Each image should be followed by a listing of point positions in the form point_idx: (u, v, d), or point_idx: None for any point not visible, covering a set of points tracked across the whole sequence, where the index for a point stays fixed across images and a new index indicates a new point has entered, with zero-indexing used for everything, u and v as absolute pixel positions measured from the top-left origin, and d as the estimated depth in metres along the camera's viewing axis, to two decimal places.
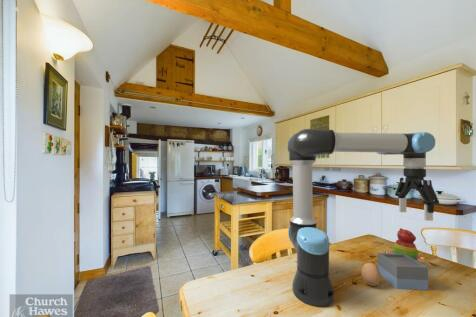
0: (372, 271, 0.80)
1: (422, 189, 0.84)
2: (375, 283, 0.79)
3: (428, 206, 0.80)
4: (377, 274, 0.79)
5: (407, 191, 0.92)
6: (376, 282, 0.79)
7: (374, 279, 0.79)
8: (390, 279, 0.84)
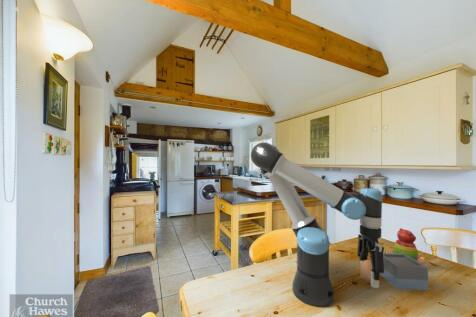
0: (371, 268, 0.80)
1: (374, 253, 0.80)
2: None
3: (374, 273, 0.78)
4: None
5: (366, 251, 0.85)
6: None
7: None
8: (390, 279, 0.84)
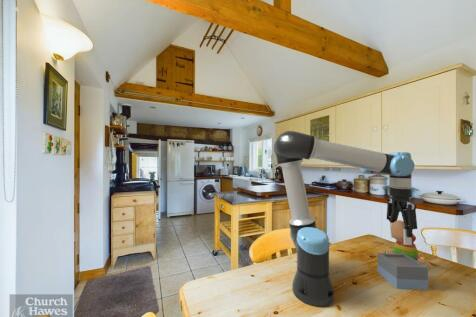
0: (403, 226, 0.83)
1: (405, 212, 0.83)
2: None
3: (407, 231, 0.81)
4: None
5: (397, 213, 0.89)
6: None
7: None
8: (390, 279, 0.84)
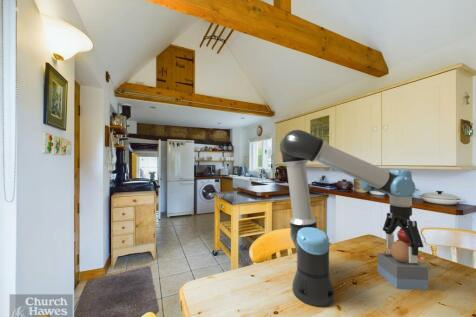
0: (403, 247, 0.83)
1: (407, 229, 0.82)
2: (406, 259, 0.83)
3: (413, 249, 0.78)
4: (407, 250, 0.83)
5: (394, 227, 0.90)
6: (407, 258, 0.83)
7: (404, 255, 0.83)
8: (390, 279, 0.84)
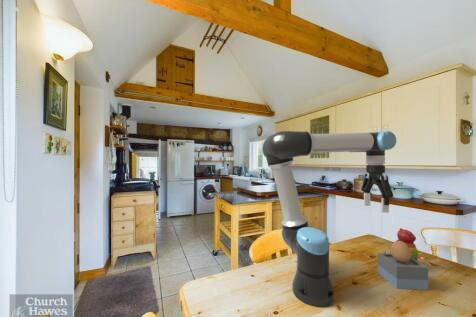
0: (403, 248, 0.83)
1: (380, 184, 0.91)
2: (406, 259, 0.83)
3: (385, 199, 0.88)
4: (407, 251, 0.83)
5: (370, 186, 1.00)
6: (407, 258, 0.83)
7: (405, 256, 0.82)
8: (390, 279, 0.84)
